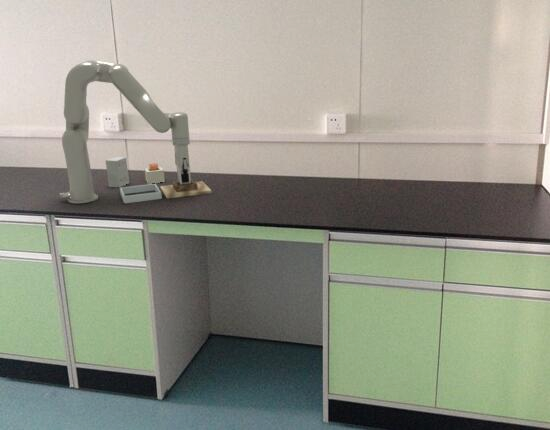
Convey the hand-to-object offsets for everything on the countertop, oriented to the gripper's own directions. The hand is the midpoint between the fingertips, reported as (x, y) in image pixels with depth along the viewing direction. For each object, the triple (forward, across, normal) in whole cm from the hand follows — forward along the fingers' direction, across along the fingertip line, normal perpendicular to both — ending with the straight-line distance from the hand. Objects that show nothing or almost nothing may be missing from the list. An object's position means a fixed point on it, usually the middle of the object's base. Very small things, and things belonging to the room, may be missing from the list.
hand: (184, 180), depth 249 cm
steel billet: (+2, 0, 0) cm, 2 cm away
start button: (-1, -24, -10) cm, 26 cm away
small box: (+5, -25, -27) cm, 37 cm away
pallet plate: (+5, 0, 0) cm, 5 cm away
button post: (+5, -24, -10) cm, 26 cm away
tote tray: (+5, 0, -20) cm, 20 cm away
